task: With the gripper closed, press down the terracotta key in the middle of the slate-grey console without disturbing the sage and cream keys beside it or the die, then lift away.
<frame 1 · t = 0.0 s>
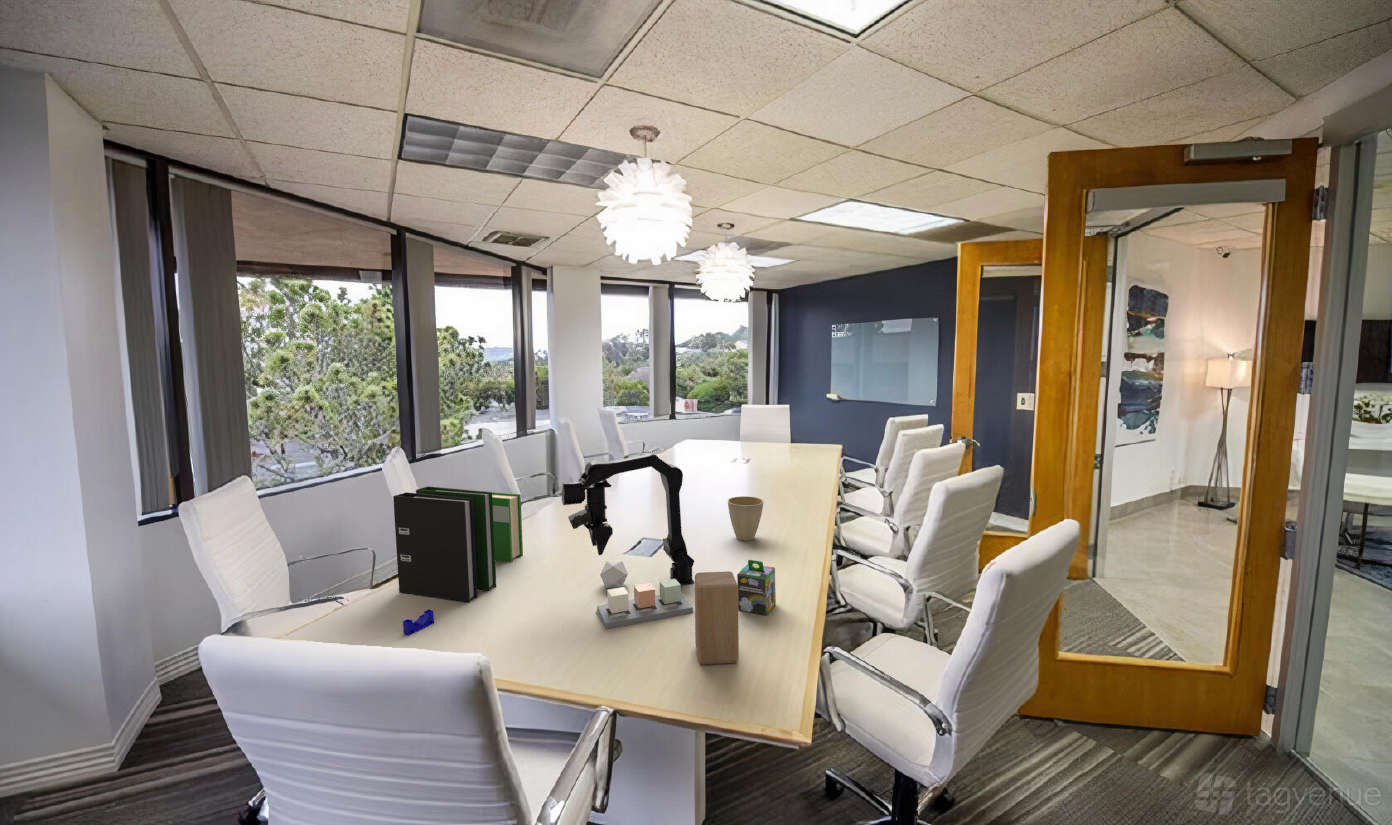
hand: (597, 550, 174), 15 cm above the table, fingers open, 9 cm apart
chalk box: (756, 607, 166), on the table
plunger sage: (670, 590, 166), point 5 cm above the table, slide at 0.0 cm
ring binders: (448, 590, 180), on the table
die: (614, 586, 182), on the table
cable holder: (417, 629, 154), on the table
plunger terracotta: (644, 595, 163), point 5 cm above the table, slide at 0.0 cm
block: (716, 655, 139), on the table
plunger cream: (617, 599, 160), point 5 cm above the table, slide at 0.0 cm
plant pot: (745, 538, 230), on the table
console: (644, 611, 163), on the table
hardback book: (497, 556, 211), on the table
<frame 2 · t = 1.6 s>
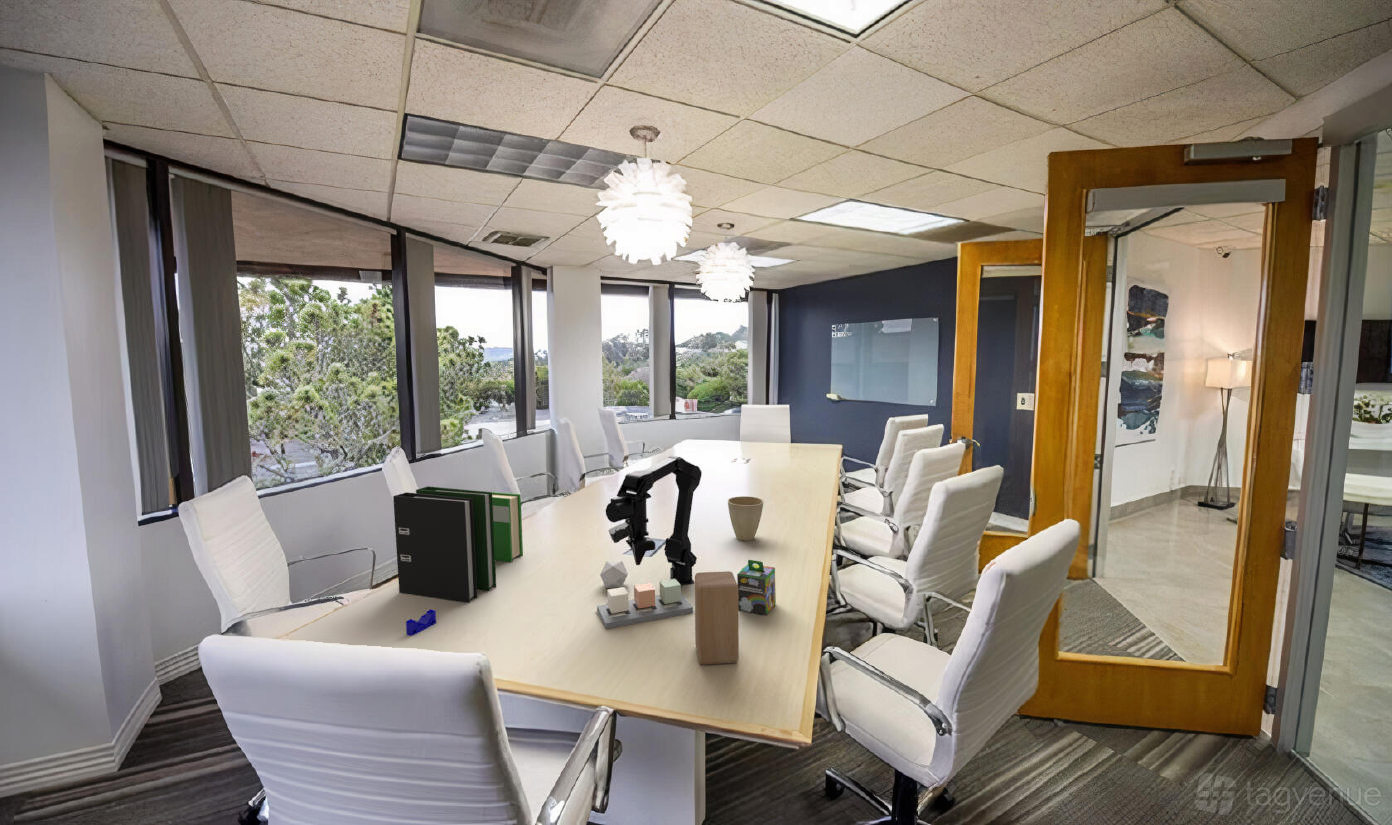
hand: (637, 564, 168), 12 cm above the table, fingers closed
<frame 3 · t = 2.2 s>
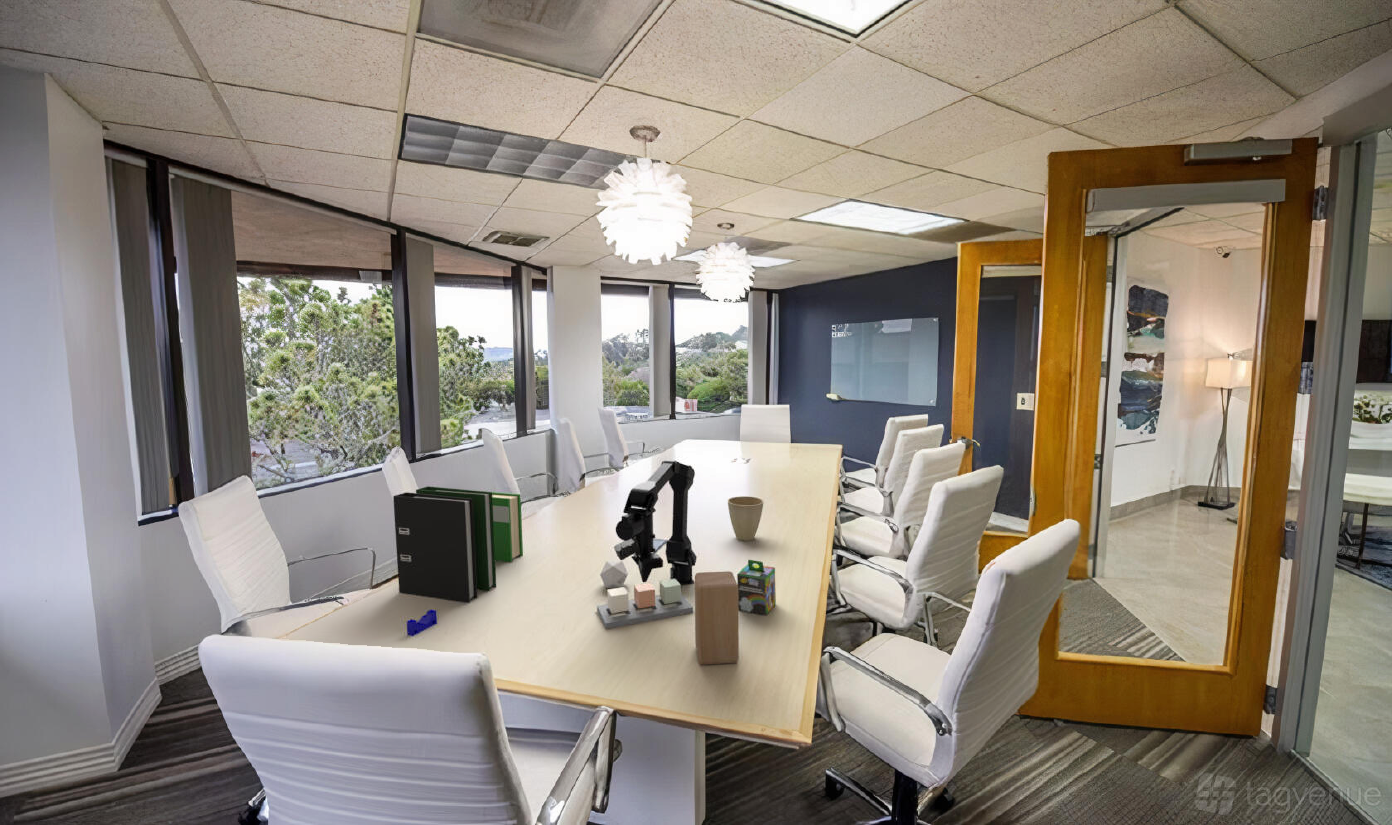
hand: (644, 581, 163), 9 cm above the table, fingers closed
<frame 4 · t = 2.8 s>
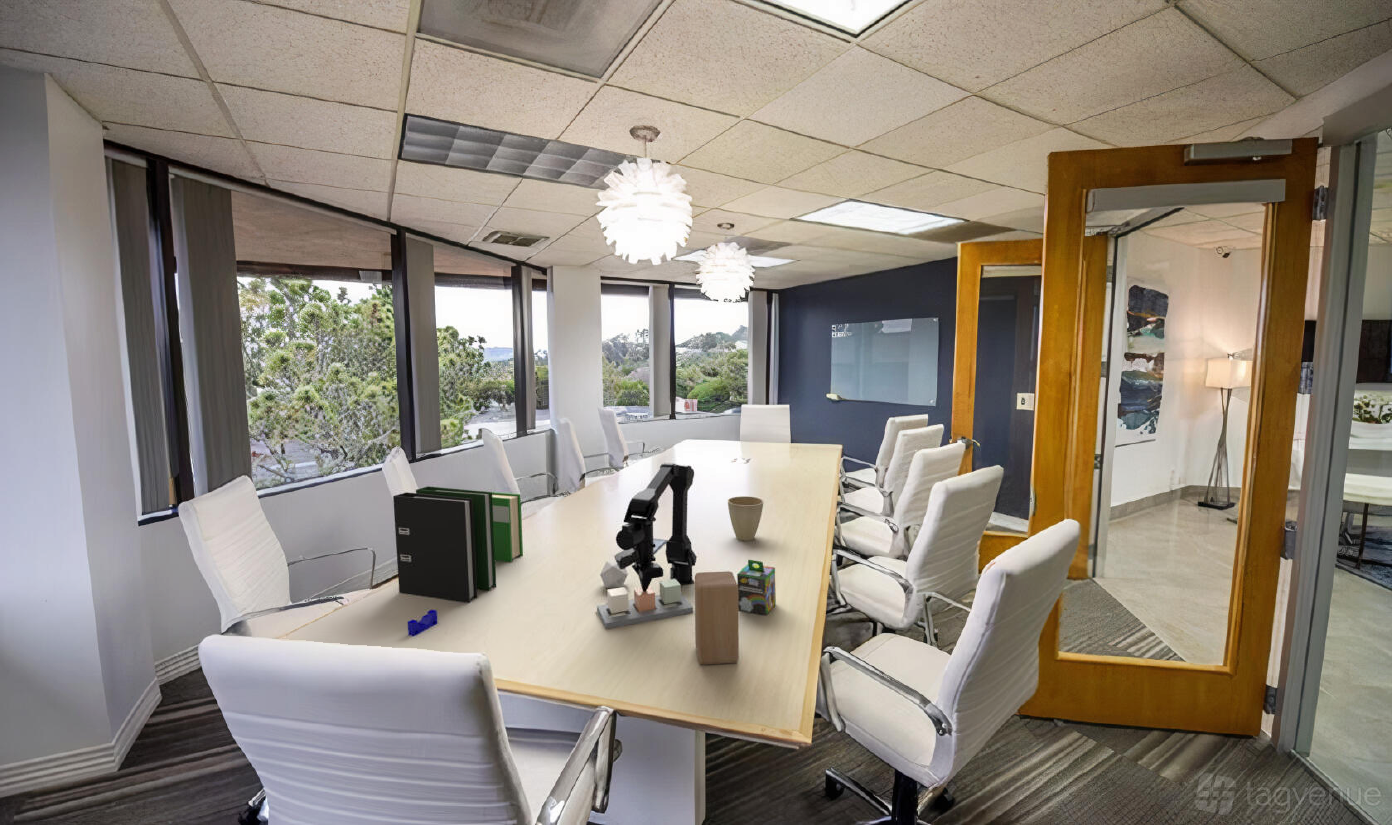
hand: (644, 590, 163), 6 cm above the table, fingers closed, pressing on plunger terracotta
plunger terracotta: (644, 598, 163), point 4 cm above the table, slide at 1.1 cm, touching gripper
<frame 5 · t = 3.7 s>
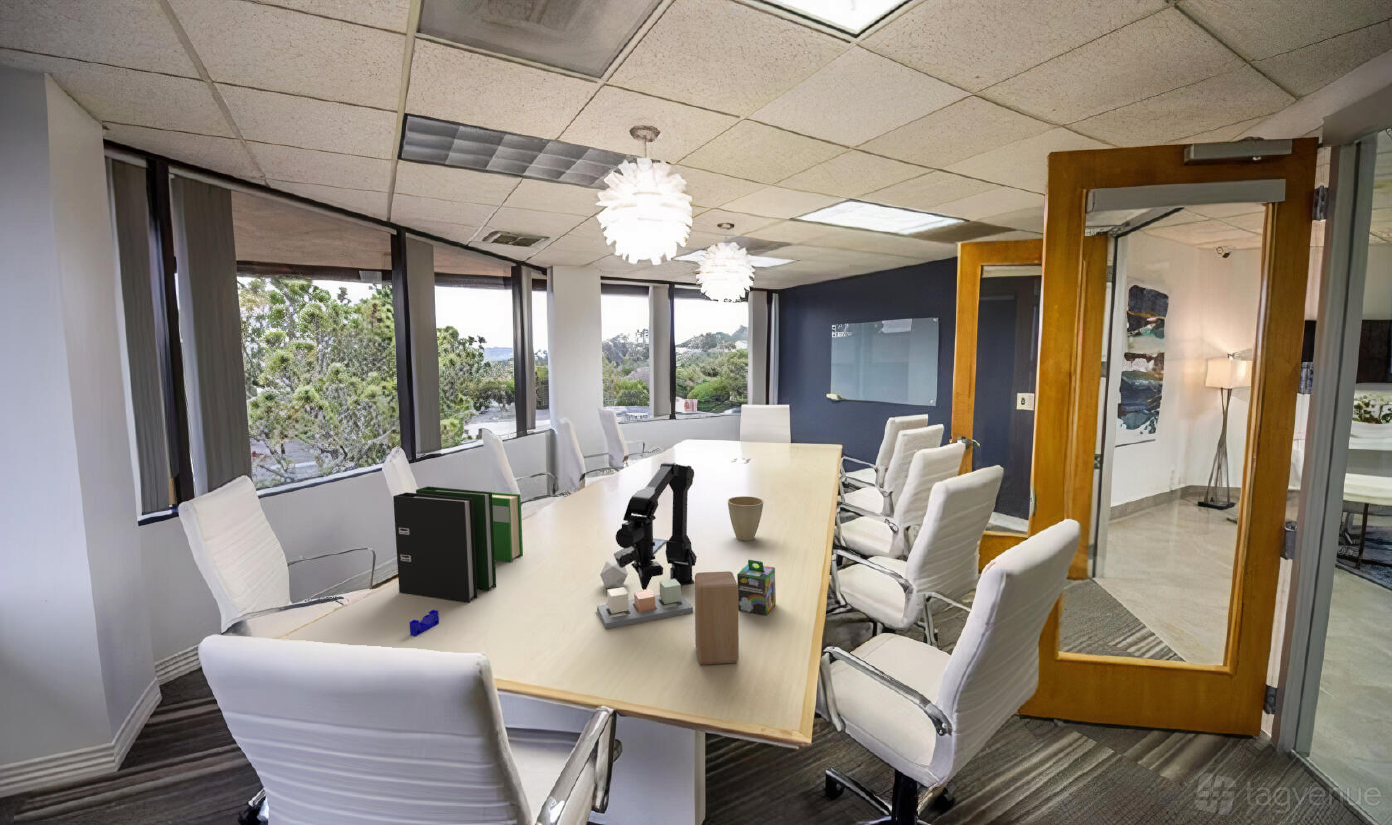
hand: (644, 589, 163), 7 cm above the table, fingers closed
plunger terracotta: (644, 602, 163), point 3 cm above the table, slide at 2.2 cm
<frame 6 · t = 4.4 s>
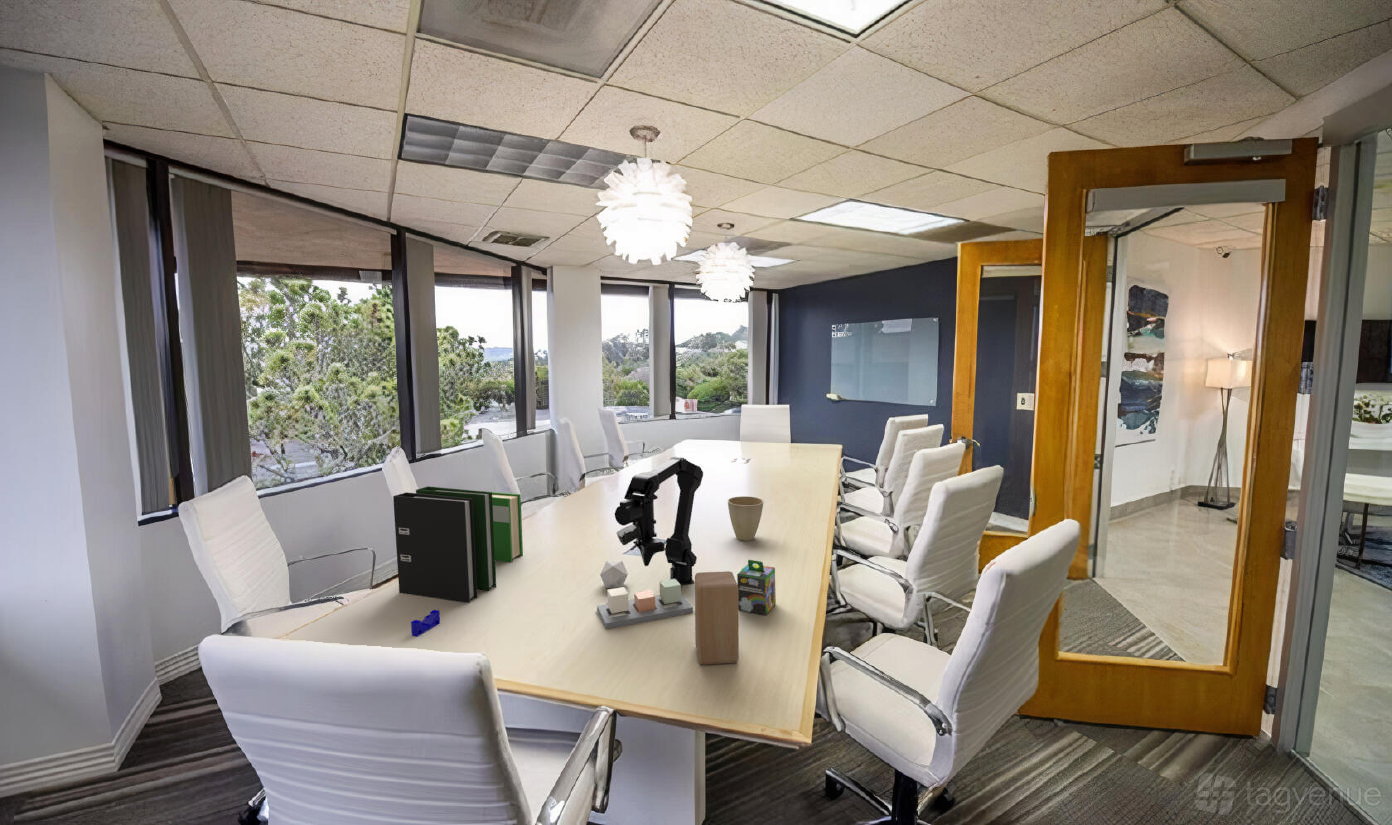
hand: (646, 565, 169), 12 cm above the table, fingers closed
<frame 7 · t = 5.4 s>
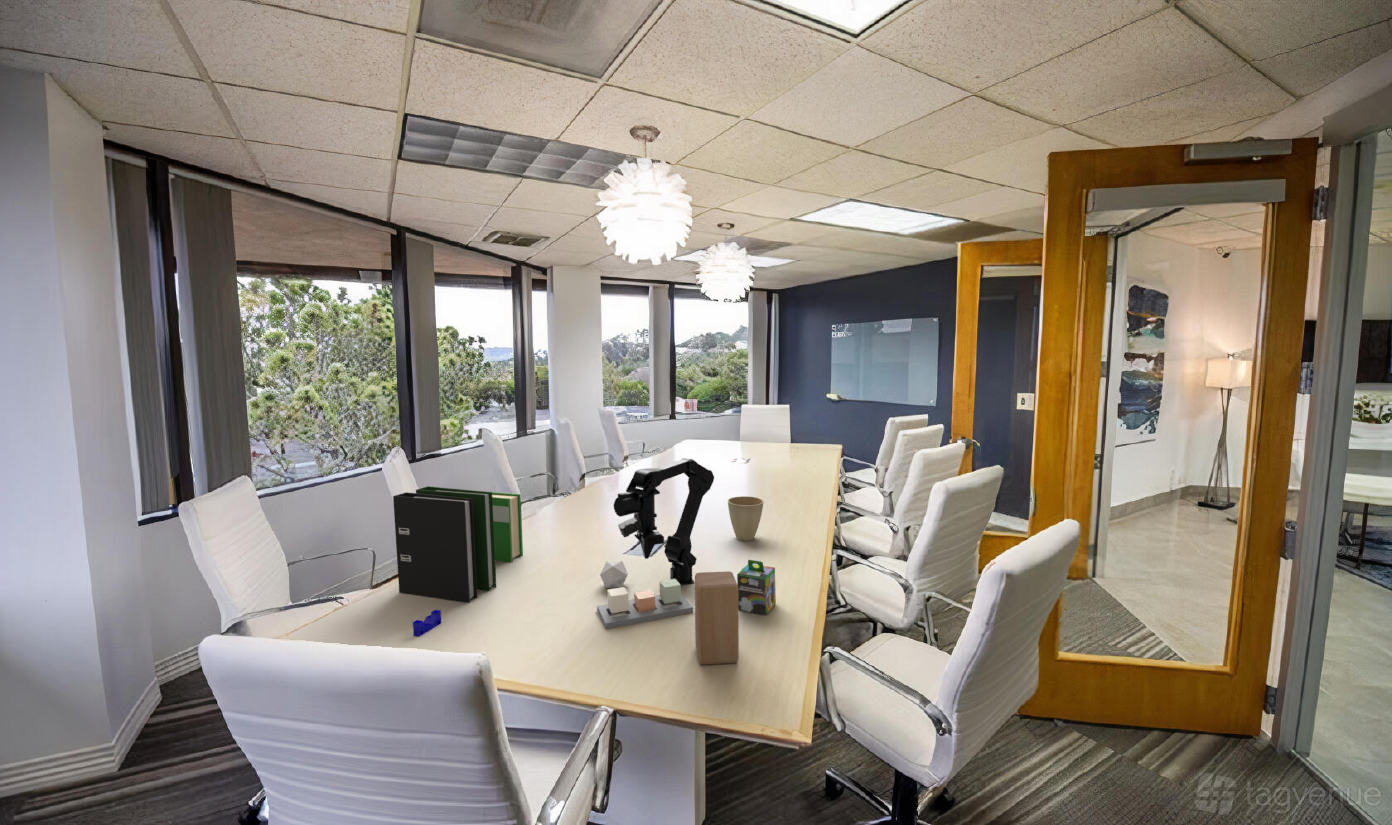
hand: (646, 558, 174), 12 cm above the table, fingers closed
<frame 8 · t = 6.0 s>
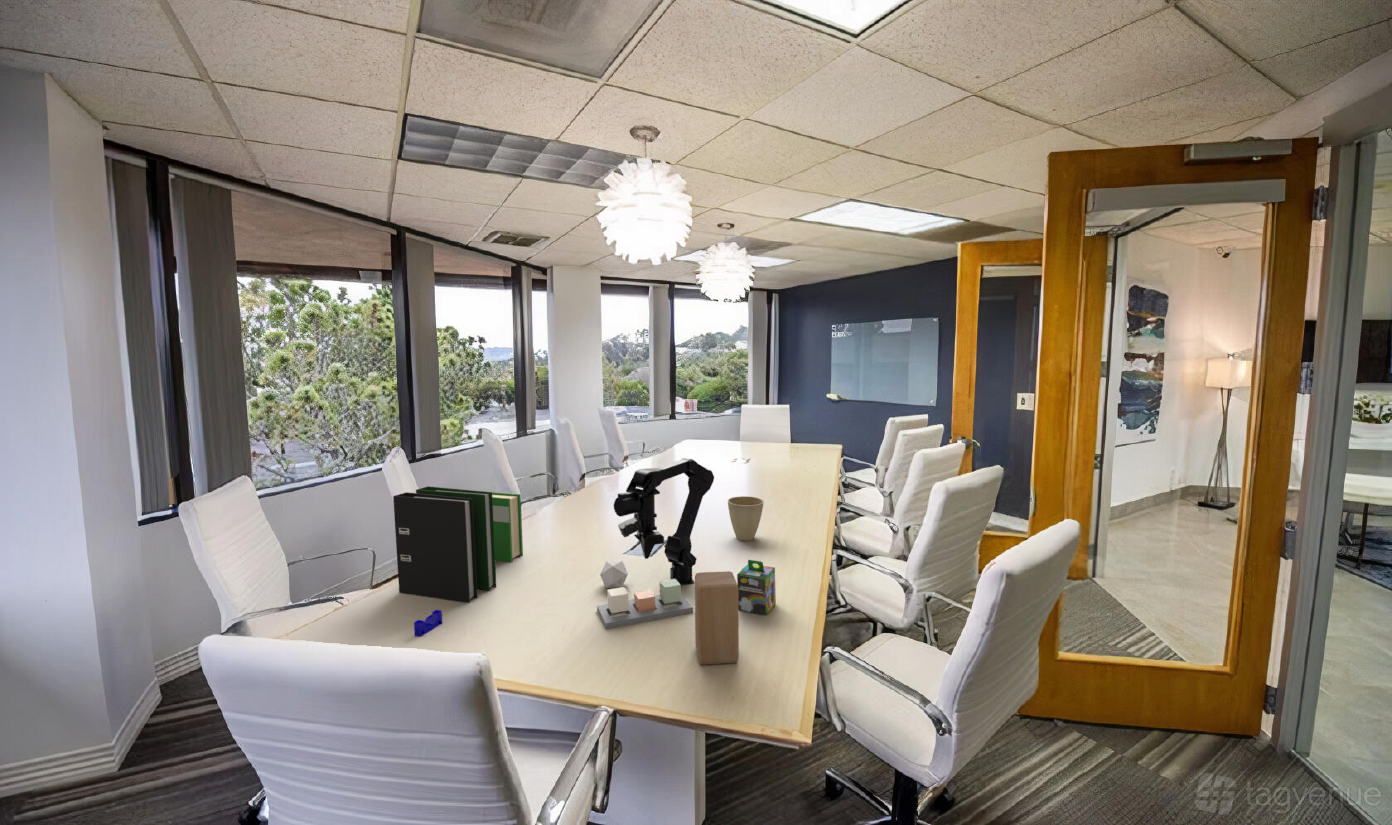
hand: (646, 558, 174), 12 cm above the table, fingers closed
at the end: plunger terracotta slide at 2.2 cm; plunger sage slide at 0.0 cm; plunger cream slide at 0.0 cm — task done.
